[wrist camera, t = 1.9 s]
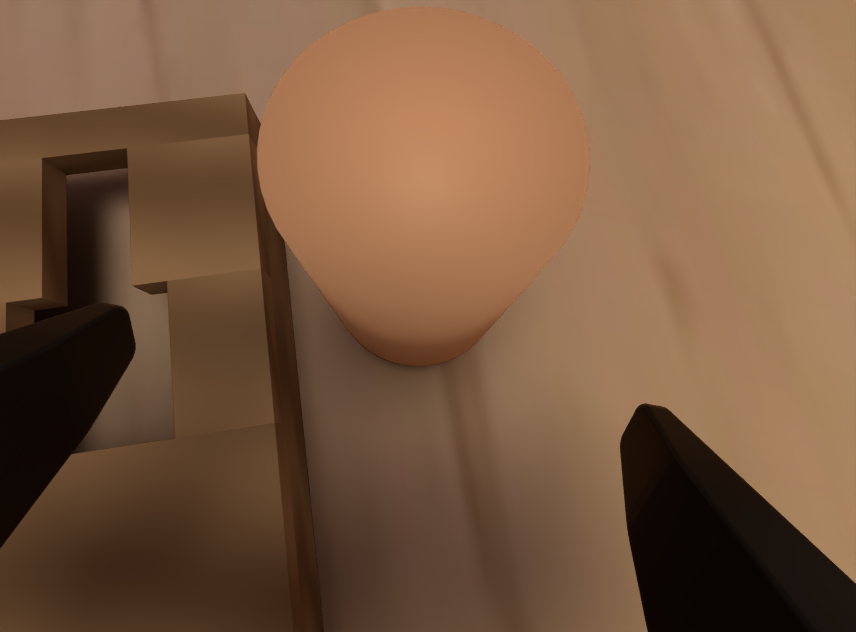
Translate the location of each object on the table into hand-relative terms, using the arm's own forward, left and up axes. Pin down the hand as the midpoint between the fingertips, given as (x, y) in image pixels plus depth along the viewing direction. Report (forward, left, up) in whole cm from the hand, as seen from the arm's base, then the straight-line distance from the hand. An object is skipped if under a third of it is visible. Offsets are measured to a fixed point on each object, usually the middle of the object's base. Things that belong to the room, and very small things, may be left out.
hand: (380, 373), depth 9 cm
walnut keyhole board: (-6, +7, -11) cm, 14 cm away
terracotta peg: (+4, +2, -11) cm, 12 cm away
